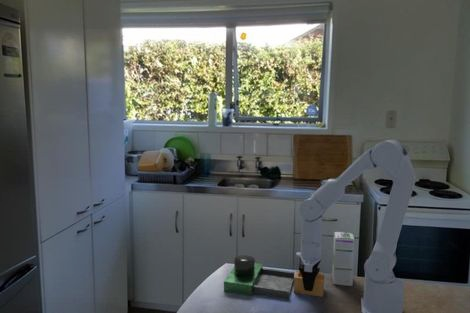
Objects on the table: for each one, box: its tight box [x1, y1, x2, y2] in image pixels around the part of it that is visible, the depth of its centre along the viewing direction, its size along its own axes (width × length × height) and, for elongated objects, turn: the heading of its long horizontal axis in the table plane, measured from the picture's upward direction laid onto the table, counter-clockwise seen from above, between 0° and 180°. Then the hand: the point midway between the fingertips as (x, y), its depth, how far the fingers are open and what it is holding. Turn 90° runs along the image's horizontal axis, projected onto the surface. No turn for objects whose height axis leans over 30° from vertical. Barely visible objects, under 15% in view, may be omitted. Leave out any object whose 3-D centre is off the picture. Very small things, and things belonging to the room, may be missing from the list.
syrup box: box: [331, 231, 355, 287], centre depth 114 cm, size 6×6×14 cm
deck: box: [223, 255, 296, 300], centre depth 112 cm, size 18×15×7 cm
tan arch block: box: [293, 269, 325, 298], centre depth 108 cm, size 8×5×4 cm, turn 74°
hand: (309, 285), depth 109 cm, fingers closed on tan arch block, 5 cm apart
